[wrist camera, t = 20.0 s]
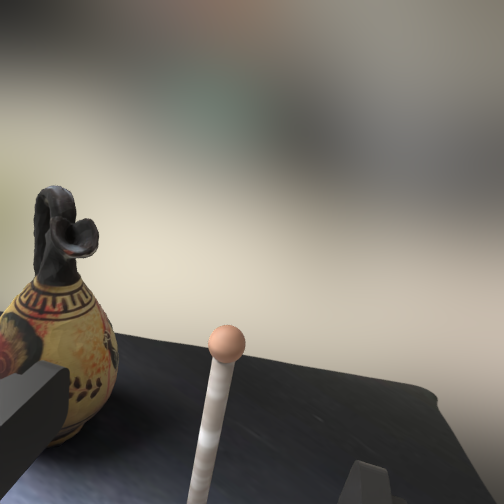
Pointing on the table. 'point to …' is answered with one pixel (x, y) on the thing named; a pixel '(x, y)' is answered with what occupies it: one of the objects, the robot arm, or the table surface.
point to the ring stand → (214, 407)
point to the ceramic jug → (62, 313)
